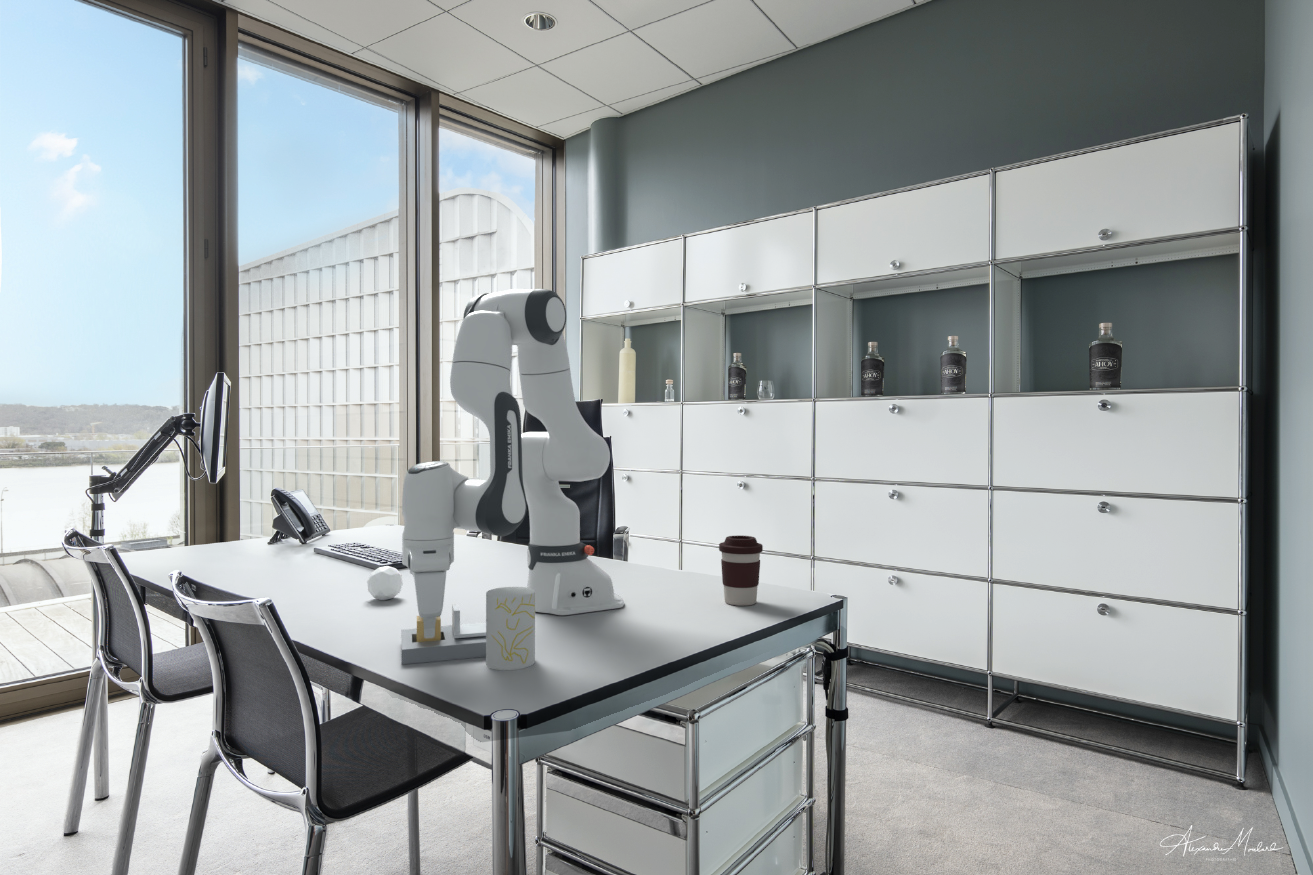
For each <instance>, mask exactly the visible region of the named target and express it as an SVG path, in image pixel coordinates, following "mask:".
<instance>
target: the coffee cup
mask: <svg viewBox="0 0 1313 875" xmlns="http://www.w3.org/2000/svg"><path fill="white" fill-rule="evenodd" d="M763 547H764V546H763V544H762V543H760V542H759V543H758V541H757V538H756V537H755V536H751V535H729V536H726V537H725V539H724V541H723V542H720V543H719V544H718V550H719V552H721V560H720V562H721V563H720V564H721V577H722V578H721V579H722V585H723V597H724V602H725V603H726V604H728V605H731V606H737V607H738V606H739V607H741V606H743V607H747V606H752V605H755V604H756V603H757V597H758V596H757V595H758V587H759V582H760V569H761V560H760V557H761V553H762V552H763V551H764V550H763V549H764V548H763Z"/></svg>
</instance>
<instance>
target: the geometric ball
mask: <svg viewBox="0 0 1313 875" xmlns="http://www.w3.org/2000/svg"><path fill="white" fill-rule="evenodd" d="M402 576H403V575H402V574H401V573H400V571H399V570H398V569H397V568H395V567H392V566H389V565H386V566H385V565H384V566H380V567H378V568H376V569H375V570H373V571H371V573H369V576H368V579H367V581H366V582H367V590H368V591H367V592H368V593H369V594H370V595H371V597H373V598H374V599H377V600H380V601H386V600H391V599H393V598H394V597H396V596H397V595H399V594H400V593H401V590H402V586H403V584H404V583H403V577H402Z"/></svg>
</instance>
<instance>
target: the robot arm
mask: <svg viewBox="0 0 1313 875" xmlns="http://www.w3.org/2000/svg"><path fill="white" fill-rule="evenodd" d="M464 308H465V309H464V311H463V312H464V313H463V317H462V318H463V320H462V322H461V324H460V326H459V330H458V332H457V333H458V334H457V337H456V341H455V344H454V350H453V356H452V362H451V369H450V370H451V371H450V377H449V381H450V382H449V384H450V385H449V386H450V393H451V396H452V398H453V399H454V401H455V402H456V403H457V404H458V405H459V407H460V408H462V410H464V411H465V412H466V413H469V414H470V415H472V416H474V417H476V418H477V419H479V420H480V421H481V422H483V424H484V425H485V427H486V428H487V431H488V435H489V467H490V468H489V469H490V472H489V477H488V479H483V478H482V479H481V478H478V479H477V478H469V476H466V475H465V474H464V475H463V474H461V473H459V472H458V471H456V469H454V468H452V467H451V464H450V463H448V462H446V461H441V460H437V461H435V460H434V461H428V462H427V461H425V462H421V463H417V464H414V465H412V466H411V467H409V469H407V472H406V473H405V476H404V480H403V485H402V496H401V497H402V500H401V501H402V502H401V503H402V504H401V505H402V506H401V510H402V511H401V514H402V518H403V521H404V528H403V532H402V536H401V537H402V538H401V542H402V543H401V546H402V547H401V549H402V552H401V553H402V554H401V557H402V558H401V560H402V562H401V564H402V565H403V566H406V567H407V568H408V569H409V574H410V575H412V577H413V581H414V588H415V596H416V604H417V605H416V606H417V611H418V616H420V617H421V618H423V623H424V637H425V638H433V637H435V624H436V617H439V616H440V617H441V616H442V613H443V607H444V602H445V592H446V591H445V590H446V583H447V582H446V581H447V571H450V567H451V565H452V563H454V562H455V532H454V529H458V530H464V531H471V532H472V531H473V532H480V533H481V532H483V533H485V534H488V535H492V536H496V537H505V536H508V535H510V534H512V533H513V532H515V531H516V530H517V529H518V528H519V527H520V525H521V524H522V523H523V521H524V520H525V517H526V514H527V511H528V516H529V518H528V519H529V542H528V545H527V568H528V577H527V578H528V579H527V586H526V588H531V589H534V590H535V613H543V614H551V615H557V616H569V615H576V614H583V613H591V612H599V611H607V610H613V609H620V608H623V607H624V605H625V603H624V602H625V601H624V599H623V597H622V596H621V595H620V594H618V593H615V590H614V586H613V580H612V578H611V576H610V575H609V574H608V573H607V572H606V571H605V570H604V569H603V568H601V567H599V565H597V564H596V563H594V562H593V561H592V560H591V559H589V558H588V557H589V556H592V555H593V554H594V553H595V548H594V547H593V546H591V545H590V544H589V545H588V544H585V543H583V542H582V541H580V540H581V536H580V533H581V532H580V531H581V526H580V525H581V524H580V522H581V521H580V520H581V519H580V518H581V516H580V515H581V512H580V509H579V507H578V505H577V503H576V502H575V501H573V500H572V499H571V498H569V497H567V496H566V495H565V493H563V491H562V489H561V487H560V483H559V482H579V483H580V482H584V481H590V480H591V481H592V480H596V479H600V478H601V477H602V476H604V475H605V473H606V472H607V470H608V468H609V466H610V465H609V464H610V462H611V452H610V448H609V445H608V443H607V441H606V440H605V439H604V437H602V436H601V435H599V434H598V433H597V432H596V431H594V430H593V428H591V427H590V426H589V424H588V423H587V422H586V421H585V419H584V417H583V416H582V414H581V412H580V410H579V408H578V405H577V402H576V398H575V393H574V388H573V382H572V381H573V380H572V373H571V364H570V358H569V353H568V349H567V344H566V340H565V337H564V334H563V332H564V330H565V328H566V323H567V310H566V305H565V304H564V301H563V300H562V299H561V297H560V296H559V295H558V293H557V292H555V291H554V290H551V289H545V288H539V287H537V288H534V289H527V288H516V289H515V288H512V289H508V290H502V291H498V292H491V293H489V292H488V293H487V292H486V293H482V294H479V295H476V296H474V297H472V298H471V299H470V300H469V301H468V303H467V304H466V306H465V307H464ZM512 346H516V347H517V362H518V365H517V367H518V373H519V380H520V381H519V382H520V389H521V398H522V405H523V407H524V409H525V411H526V412H527V413H528V414H530V415H531V416H533V417H534V418H536V419H537V420H539V421H540V422H541V423H542V425H543V426H544V427H545V430H546V431H527V432H522V418H521V417H522V416H521V409H520V404H519V402H518V401H517V399H516V398H515V397H514V396H513V392H512V388H511V387H512V385H511V371H512V361H513V360H512V359H513V358H512V357H513V356H512V355H513V353H512V352H513V349H512V348H513V347H512ZM527 508H528V509H527Z"/></svg>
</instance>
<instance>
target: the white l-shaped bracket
mask: <svg viewBox="0 0 1313 875" xmlns="http://www.w3.org/2000/svg"><path fill="white" fill-rule="evenodd" d="M451 605H452V607H451V609H452V610H451V611H452V612H451V615H452V616H451V618H452V621H451V626H452V631H453V634H454V638H465V637H477V636H486V621H484V622H470V623H462V624H461V609H460V606H459V604H458V603H457V604H455V603H453V604H451Z"/></svg>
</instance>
